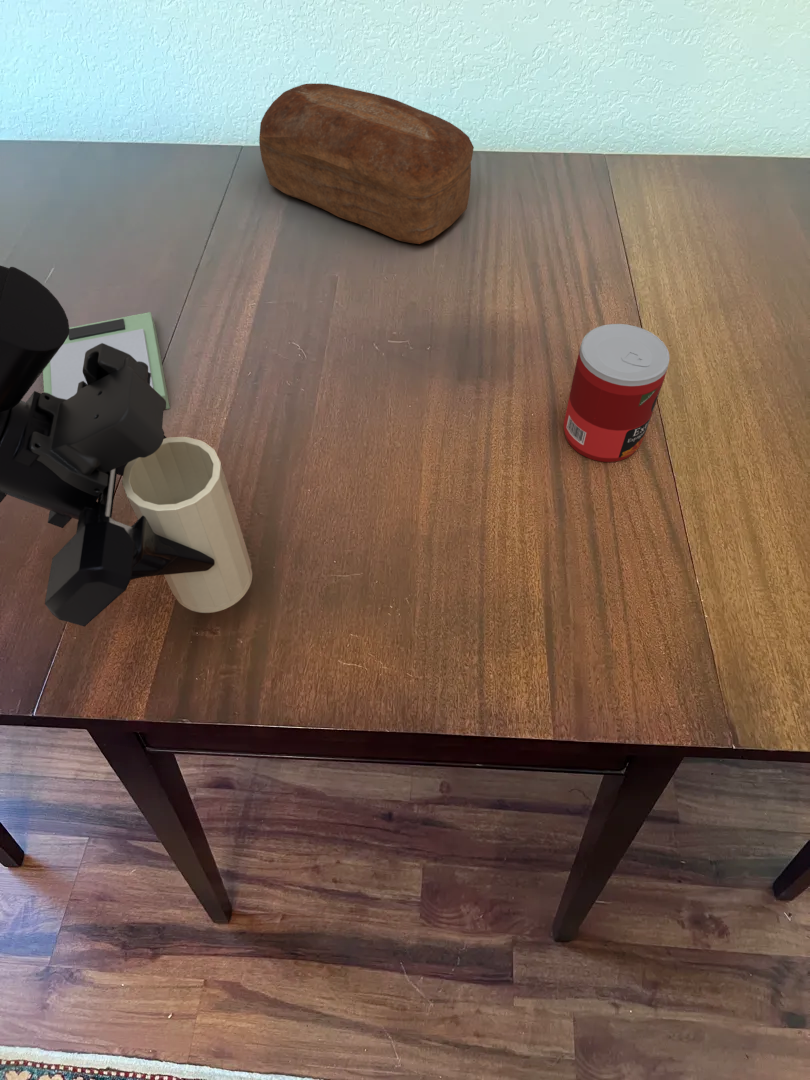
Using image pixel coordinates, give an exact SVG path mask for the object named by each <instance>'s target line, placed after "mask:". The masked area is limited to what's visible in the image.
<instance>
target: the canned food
mask: <svg viewBox="0 0 810 1080" xmlns="http://www.w3.org/2000/svg"><path fill="white" fill-rule="evenodd" d="M669 364H670V352H669V350H668V347H667V346H666V344H665V342H664V341H663V340H661V338H660V337H658V336H657V335H655V334H654V333H653V332H651V331H649V330H647V329H644V328H642V327H639V326H636V325H632V324H627V323H608V324H603V325H600V326H597V327H595V328H593V329H591V330H589V331H588V332H587V333H586V334H585V336H584V337H583V338H582V341H581V344H580V346H579V350H578V355H577V358H576V361H575V368H574V373H573V377H572V382H571V386H570V391H569V396H568V400H567V406H566V410H565V415H564V420H563V430H564V435H565V439H566V441H567V443H568V444H569V445H570V447H571V448H572V449H573V450H574V451H575V452H577V453H578V454H580V455H581V456H583V457H585V458H587V459H590V460H592V461H596V462H602V463H604V462H605V463H615V462H620V461H623V460H625V459H628V458H629V457H631V456H633V454H635V452H636V451H638V449H640V446H642V443H643V441H644V438H645V435H646V433H647V429H648V427H649V424H650V421H651V418H652V416H653V413H654V410H655V407H656V405H657V401H658V398H659V395H660V392H661V390H662V387H663V384H664V382H665V379H666V375H667V372H668V368H669Z"/></svg>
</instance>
